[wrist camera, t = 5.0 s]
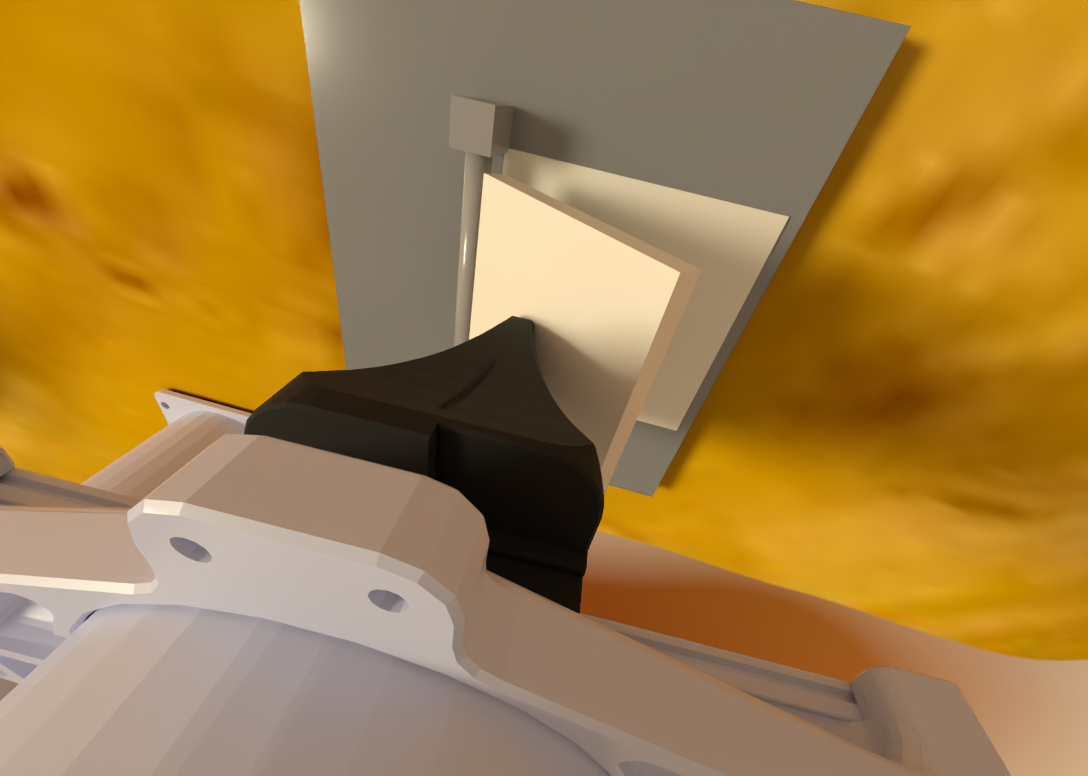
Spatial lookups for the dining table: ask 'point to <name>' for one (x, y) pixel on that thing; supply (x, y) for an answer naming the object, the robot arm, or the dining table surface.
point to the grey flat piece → (579, 156)
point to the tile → (579, 305)
